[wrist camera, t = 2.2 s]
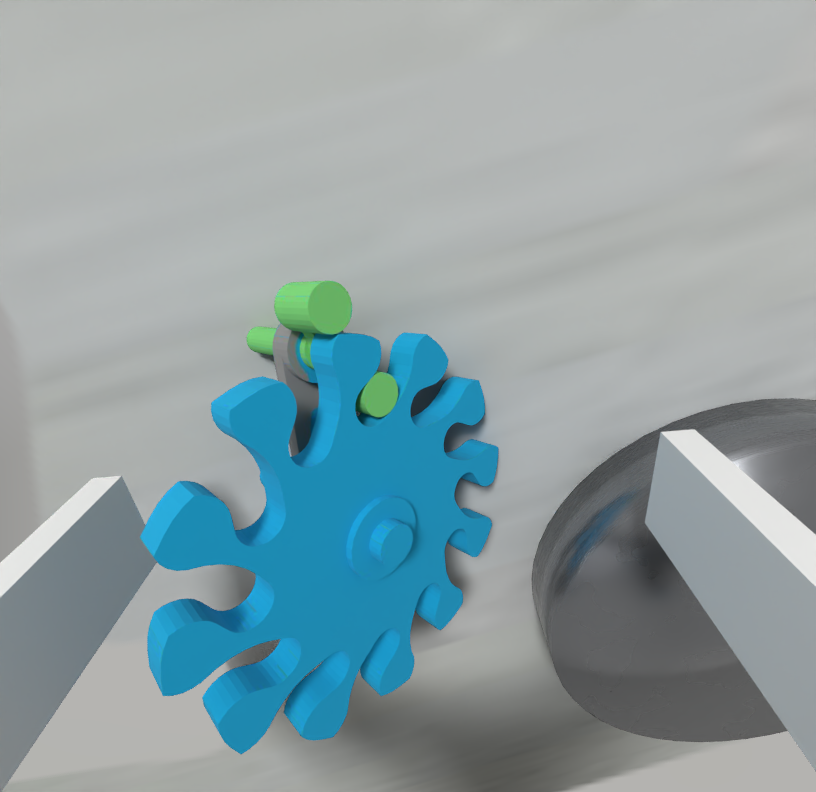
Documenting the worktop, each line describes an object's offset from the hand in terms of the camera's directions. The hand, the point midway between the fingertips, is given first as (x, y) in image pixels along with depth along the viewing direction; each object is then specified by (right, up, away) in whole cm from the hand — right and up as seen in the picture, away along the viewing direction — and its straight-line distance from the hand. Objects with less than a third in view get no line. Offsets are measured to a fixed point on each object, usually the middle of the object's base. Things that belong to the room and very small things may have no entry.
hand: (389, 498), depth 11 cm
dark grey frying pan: (+13, -3, +5) cm, 15 cm away
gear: (-1, +1, +3) cm, 4 cm away
